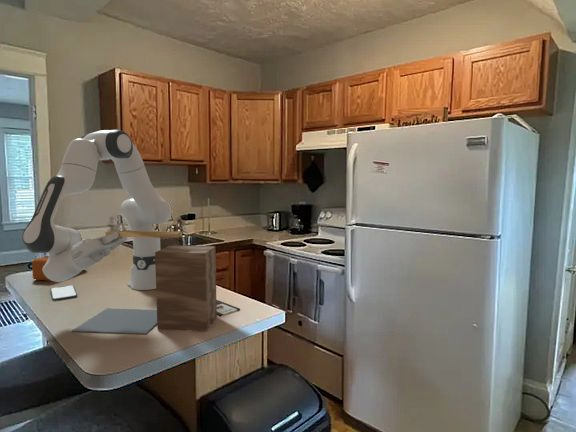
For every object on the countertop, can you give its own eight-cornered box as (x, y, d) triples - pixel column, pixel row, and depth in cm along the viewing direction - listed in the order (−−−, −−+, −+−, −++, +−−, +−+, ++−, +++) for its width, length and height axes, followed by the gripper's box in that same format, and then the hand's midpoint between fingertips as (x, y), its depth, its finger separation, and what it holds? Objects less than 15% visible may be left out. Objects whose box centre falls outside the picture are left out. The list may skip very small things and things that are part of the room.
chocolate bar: (211, 297, 151) (240, 308, 139) (211, 299, 151) (240, 311, 139) (191, 302, 145) (220, 315, 132) (191, 305, 145) (220, 317, 132)
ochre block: (112, 234, 127) (111, 230, 127) (182, 236, 125) (181, 231, 125) (105, 236, 123) (105, 232, 123) (177, 238, 121) (177, 233, 121)
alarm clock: (48, 282, 174) (46, 258, 173) (32, 281, 176) (31, 257, 174) (85, 269, 198) (84, 248, 196) (71, 268, 199) (69, 247, 198)
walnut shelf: (171, 315, 133) (169, 245, 130) (216, 317, 132) (215, 246, 129) (157, 329, 121) (154, 252, 118) (206, 331, 120) (205, 253, 117)
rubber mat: (106, 309, 139) (106, 308, 139) (170, 311, 137) (170, 310, 137) (71, 331, 119) (71, 330, 119) (145, 334, 117) (145, 333, 117)
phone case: (78, 299, 153) (73, 288, 166) (77, 295, 152) (73, 284, 165) (52, 303, 148) (50, 291, 161) (51, 299, 147) (49, 288, 160)
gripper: (63, 250, 116) (99, 228, 114) (100, 239, 136) (132, 220, 135) (73, 267, 116) (110, 246, 115) (110, 254, 136) (141, 235, 135)
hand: (122, 232), depth 125 cm, fingers closed on ochre block, 4 cm apart
